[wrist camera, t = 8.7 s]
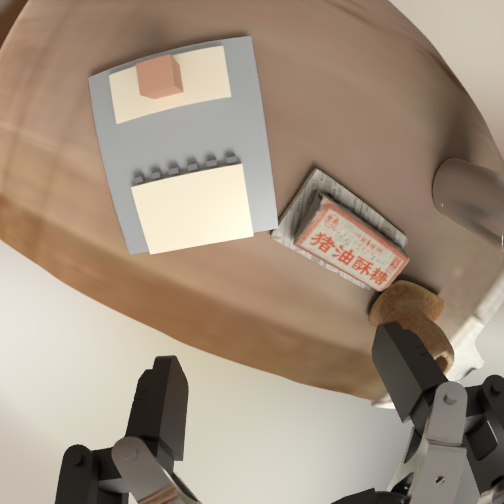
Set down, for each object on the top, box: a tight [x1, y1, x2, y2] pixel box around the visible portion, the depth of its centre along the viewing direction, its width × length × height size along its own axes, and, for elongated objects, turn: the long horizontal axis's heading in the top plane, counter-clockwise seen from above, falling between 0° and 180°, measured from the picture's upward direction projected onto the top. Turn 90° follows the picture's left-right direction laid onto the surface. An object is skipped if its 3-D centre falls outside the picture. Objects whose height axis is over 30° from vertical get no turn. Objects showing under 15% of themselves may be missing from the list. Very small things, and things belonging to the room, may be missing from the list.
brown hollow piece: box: [368, 280, 454, 375], centre depth 35 cm, size 15×12×15 cm
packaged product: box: [270, 169, 410, 291], centre depth 33 cm, size 18×5×10 cm
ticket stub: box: [109, 46, 231, 124], centre depth 20 cm, size 12×6×6 cm, turn 98°
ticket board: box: [88, 36, 278, 255], centre depth 27 cm, size 18×22×2 cm
